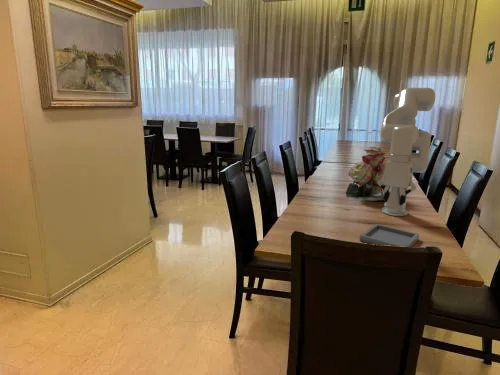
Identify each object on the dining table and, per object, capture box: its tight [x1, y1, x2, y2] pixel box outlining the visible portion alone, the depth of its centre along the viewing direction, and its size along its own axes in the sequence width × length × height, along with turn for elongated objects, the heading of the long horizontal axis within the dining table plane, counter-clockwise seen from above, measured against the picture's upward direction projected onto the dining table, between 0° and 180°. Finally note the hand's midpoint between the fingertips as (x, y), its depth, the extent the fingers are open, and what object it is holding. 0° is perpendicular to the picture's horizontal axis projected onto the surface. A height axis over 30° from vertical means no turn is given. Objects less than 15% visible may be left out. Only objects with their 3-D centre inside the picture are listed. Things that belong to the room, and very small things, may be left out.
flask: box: [383, 187, 403, 210], centre depth 135 cm, size 7×7×10 cm
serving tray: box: [359, 223, 420, 248], centre depth 139 cm, size 18×18×2 cm
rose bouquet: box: [345, 146, 387, 202], centre depth 200 cm, size 26×29×30 cm
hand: (394, 202), depth 136 cm, fingers closed on flask, 5 cm apart
